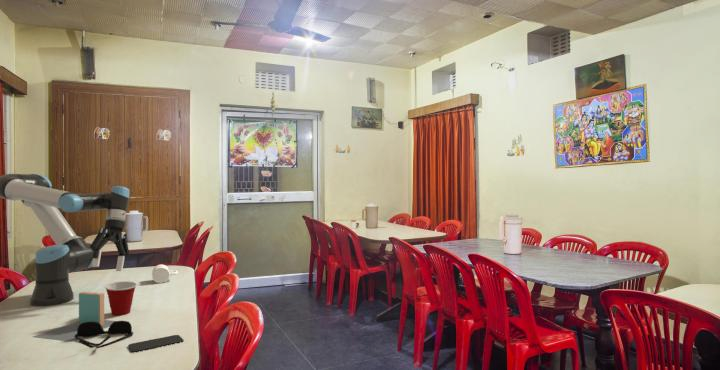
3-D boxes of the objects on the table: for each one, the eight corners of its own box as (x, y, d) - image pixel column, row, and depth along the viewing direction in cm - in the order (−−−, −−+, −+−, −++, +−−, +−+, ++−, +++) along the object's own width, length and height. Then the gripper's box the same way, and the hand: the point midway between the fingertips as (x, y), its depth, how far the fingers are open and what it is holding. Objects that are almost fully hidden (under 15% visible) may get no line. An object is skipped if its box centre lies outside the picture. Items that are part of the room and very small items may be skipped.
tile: (78, 324, 151) (78, 293, 151) (84, 322, 153) (83, 291, 153) (99, 326, 149) (98, 294, 149) (104, 324, 151) (104, 293, 151)
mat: (32, 339, 139) (32, 336, 139) (86, 320, 158) (86, 318, 158) (70, 343, 134) (70, 341, 134) (121, 323, 154) (121, 321, 154)
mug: (152, 284, 215) (152, 268, 215) (152, 280, 224) (152, 265, 224) (178, 281, 220) (178, 266, 220) (177, 278, 229) (177, 263, 229)
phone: (184, 340, 136) (131, 351, 127) (184, 343, 136) (131, 354, 127) (178, 334, 142) (127, 344, 133) (178, 336, 142) (127, 346, 133)
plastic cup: (112, 321, 156) (112, 289, 156) (99, 316, 163) (99, 284, 162) (142, 314, 165) (142, 283, 165) (129, 309, 171) (129, 279, 171)
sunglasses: (59, 355, 125) (59, 338, 125) (76, 336, 139) (77, 320, 139) (123, 351, 130) (123, 335, 129) (134, 333, 143) (134, 319, 143)
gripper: (101, 212, 178) (92, 264, 171) (142, 226, 201) (135, 272, 194) (86, 214, 179) (76, 265, 172) (127, 227, 202) (120, 272, 195)
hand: (107, 268), depth 183 cm, fingers open, 13 cm apart
